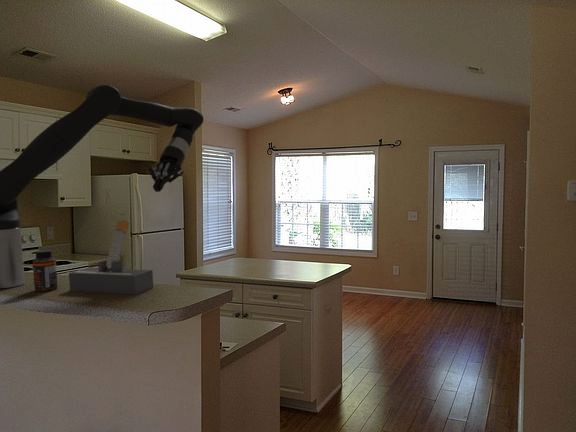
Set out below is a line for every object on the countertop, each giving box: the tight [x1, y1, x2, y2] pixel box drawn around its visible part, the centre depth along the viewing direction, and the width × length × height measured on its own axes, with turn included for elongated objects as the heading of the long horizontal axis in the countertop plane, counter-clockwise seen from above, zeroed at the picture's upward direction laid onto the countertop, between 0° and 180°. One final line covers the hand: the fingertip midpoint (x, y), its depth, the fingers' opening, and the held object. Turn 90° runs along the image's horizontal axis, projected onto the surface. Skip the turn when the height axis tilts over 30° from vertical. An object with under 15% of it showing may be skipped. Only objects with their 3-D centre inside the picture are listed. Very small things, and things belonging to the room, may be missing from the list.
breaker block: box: [68, 259, 154, 295], centre depth 137 cm, size 22×8×8 cm, turn 71°
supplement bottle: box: [32, 249, 58, 293], centre depth 138 cm, size 6×6×11 cm
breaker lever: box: [105, 220, 130, 271], centre depth 139 cm, size 3×2×15 cm, turn 71°
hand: (156, 190), depth 158 cm, fingers closed
